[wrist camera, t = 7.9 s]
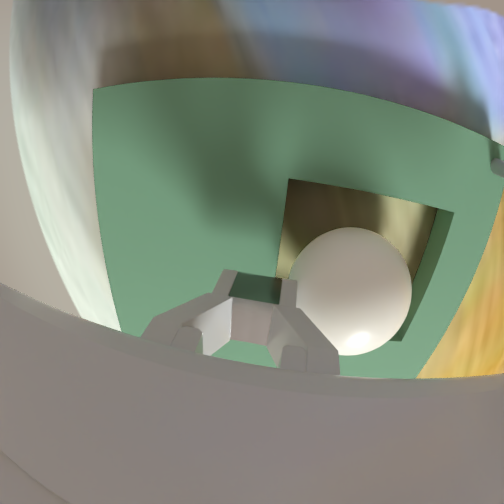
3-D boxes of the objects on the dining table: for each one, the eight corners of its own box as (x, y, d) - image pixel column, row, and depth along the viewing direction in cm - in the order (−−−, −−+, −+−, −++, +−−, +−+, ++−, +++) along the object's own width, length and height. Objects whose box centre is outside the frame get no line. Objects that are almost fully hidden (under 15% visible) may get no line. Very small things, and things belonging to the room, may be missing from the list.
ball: (451, 253, 8) (367, 208, 12) (355, 277, 7) (271, 213, 11) (409, 355, 10) (347, 297, 15) (317, 399, 9) (262, 318, 13)
